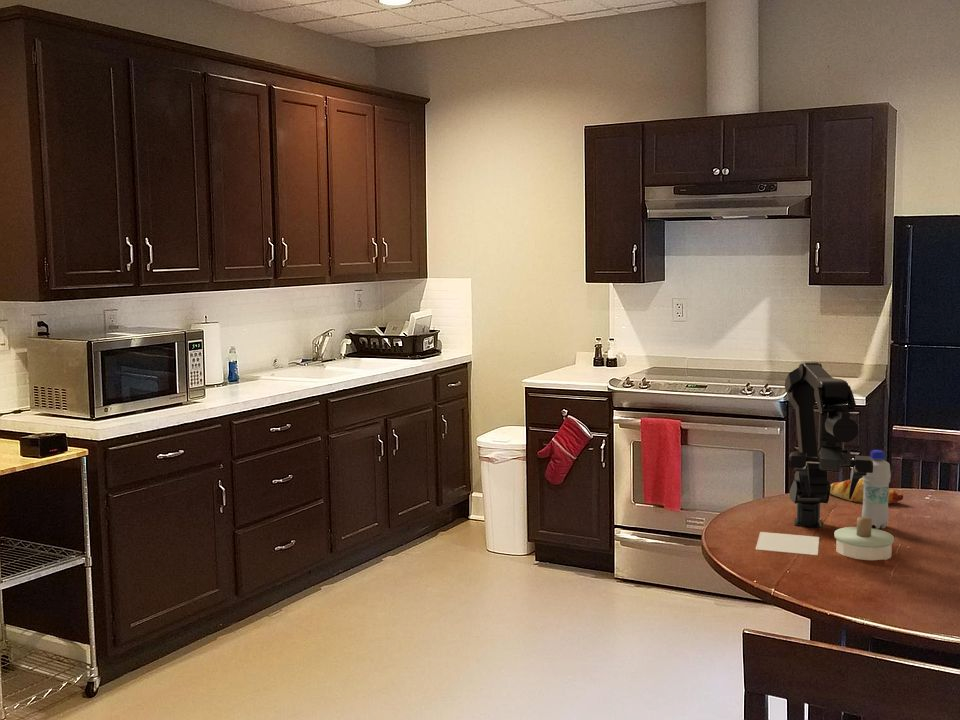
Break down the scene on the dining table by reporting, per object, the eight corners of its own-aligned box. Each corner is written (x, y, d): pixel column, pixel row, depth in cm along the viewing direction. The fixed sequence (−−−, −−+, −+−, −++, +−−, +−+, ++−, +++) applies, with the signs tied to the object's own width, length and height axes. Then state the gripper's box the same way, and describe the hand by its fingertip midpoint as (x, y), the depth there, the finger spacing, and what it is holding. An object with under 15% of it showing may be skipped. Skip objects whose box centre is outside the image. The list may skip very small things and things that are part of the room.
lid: (834, 527, 238) (835, 508, 237) (892, 532, 233) (893, 513, 233) (833, 544, 226) (834, 524, 225) (895, 549, 221) (895, 529, 221)
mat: (760, 533, 246) (760, 531, 246) (819, 538, 241) (819, 537, 241) (755, 550, 233) (755, 549, 233) (817, 556, 228) (817, 555, 228)
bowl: (836, 542, 238) (836, 528, 237) (889, 547, 234) (890, 533, 233) (835, 558, 227) (836, 543, 226) (892, 563, 222) (892, 548, 222)
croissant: (822, 507, 279) (817, 486, 275) (831, 484, 286) (828, 463, 282) (900, 518, 266) (897, 496, 263) (909, 494, 273) (906, 472, 269)
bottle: (884, 523, 252) (887, 447, 250) (892, 531, 246) (895, 453, 243) (857, 522, 253) (859, 446, 250) (864, 530, 246) (867, 452, 244)
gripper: (788, 438, 228) (786, 503, 230) (874, 442, 221) (872, 509, 223) (790, 428, 238) (789, 491, 240) (873, 432, 232) (871, 496, 234)
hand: (829, 497), depth 234 cm, fingers open, 9 cm apart
